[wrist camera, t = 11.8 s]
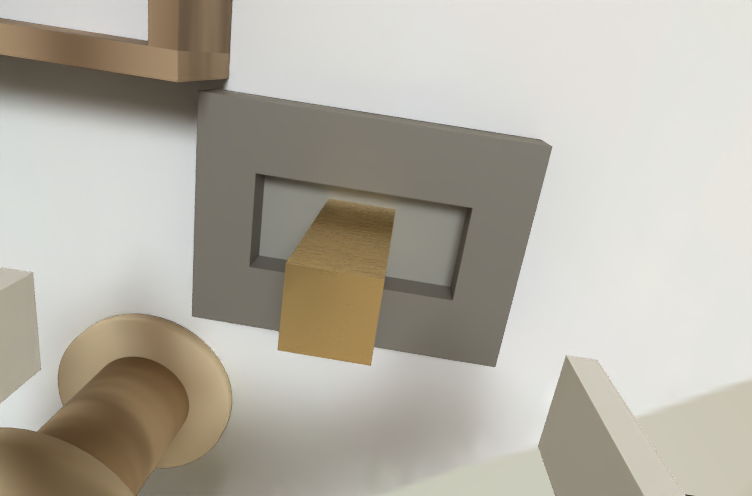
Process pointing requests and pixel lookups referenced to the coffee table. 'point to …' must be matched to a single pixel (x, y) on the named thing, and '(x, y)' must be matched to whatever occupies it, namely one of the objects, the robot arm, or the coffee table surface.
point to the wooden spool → (121, 412)
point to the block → (337, 283)
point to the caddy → (137, 43)
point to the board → (371, 187)
